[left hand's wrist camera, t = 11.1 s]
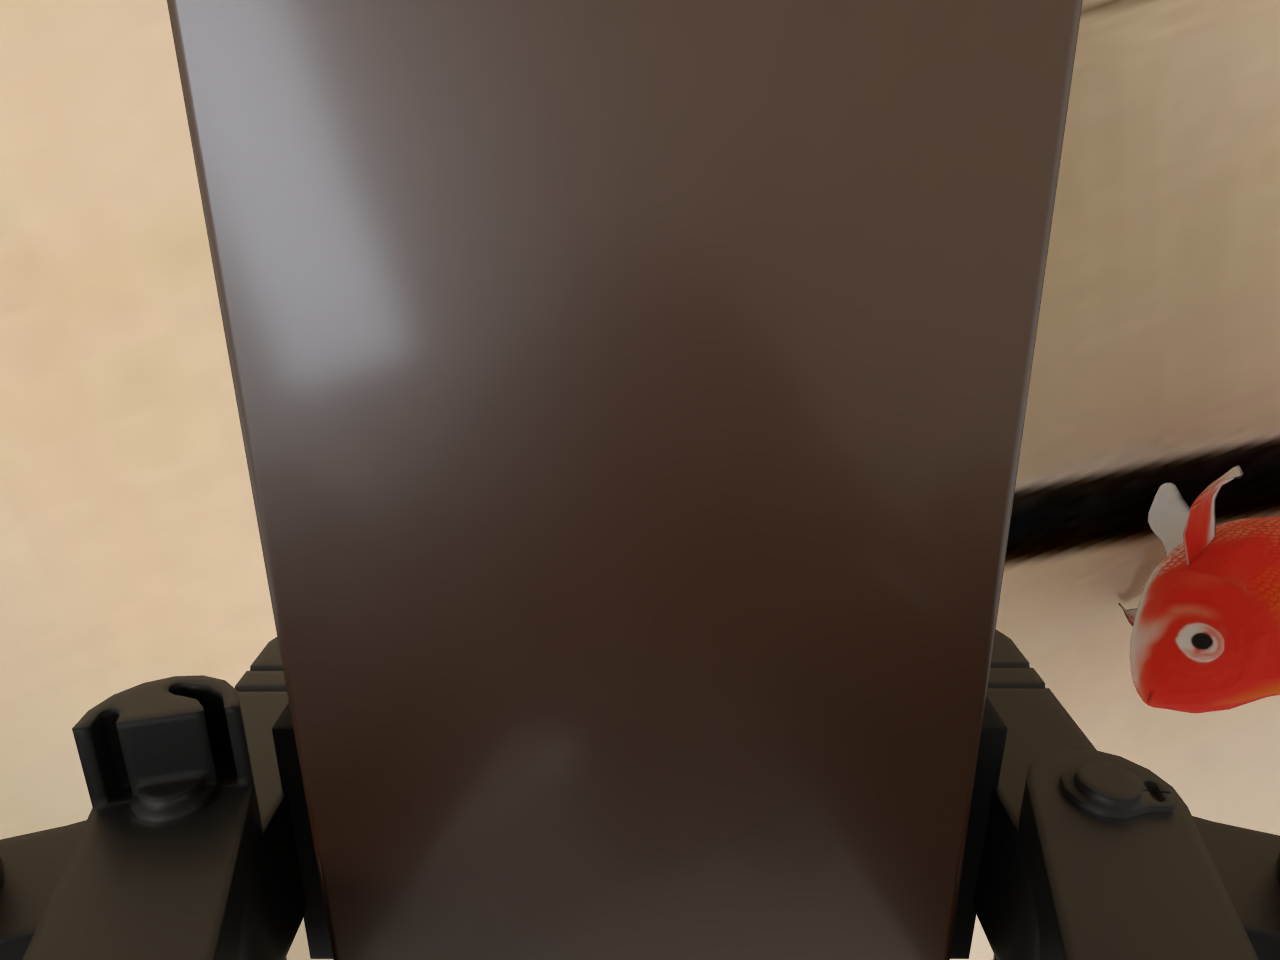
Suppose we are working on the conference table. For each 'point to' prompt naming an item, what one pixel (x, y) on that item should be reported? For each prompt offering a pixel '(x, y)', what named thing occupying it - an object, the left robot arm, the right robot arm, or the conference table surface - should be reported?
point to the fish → (1208, 607)
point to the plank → (632, 448)
